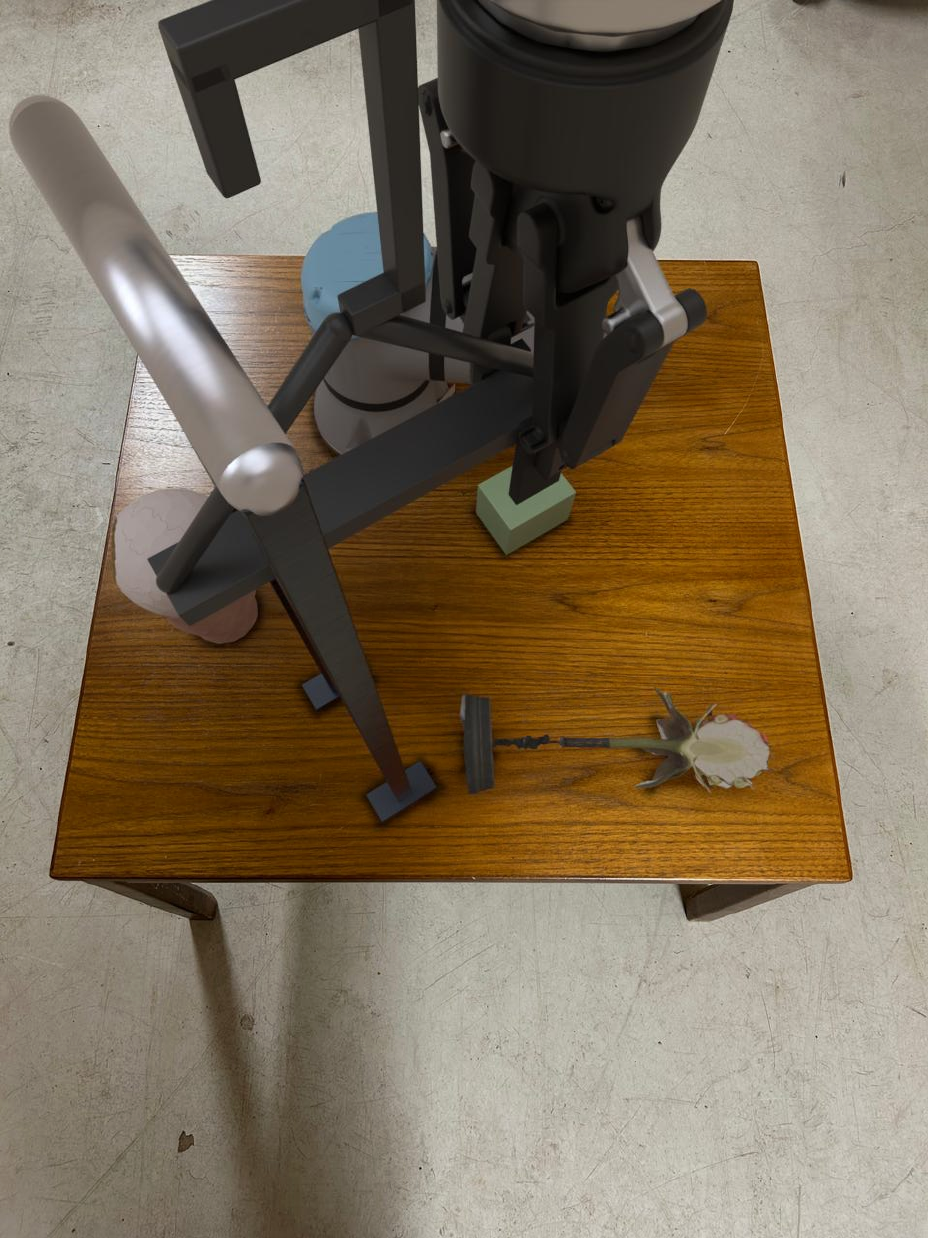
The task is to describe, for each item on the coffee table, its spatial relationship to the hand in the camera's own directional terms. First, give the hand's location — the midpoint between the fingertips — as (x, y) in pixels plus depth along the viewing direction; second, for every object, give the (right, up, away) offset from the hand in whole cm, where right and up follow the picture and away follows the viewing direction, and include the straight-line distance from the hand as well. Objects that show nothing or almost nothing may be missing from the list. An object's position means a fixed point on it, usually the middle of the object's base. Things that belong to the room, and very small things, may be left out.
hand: (513, 461), depth 41 cm
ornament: (+11, -21, +35) cm, 42 cm away
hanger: (-7, -2, -6) cm, 9 cm away
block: (+4, +3, +43) cm, 43 cm away
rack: (-12, -20, +34) cm, 41 cm away
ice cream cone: (-27, -8, +39) cm, 48 cm away
